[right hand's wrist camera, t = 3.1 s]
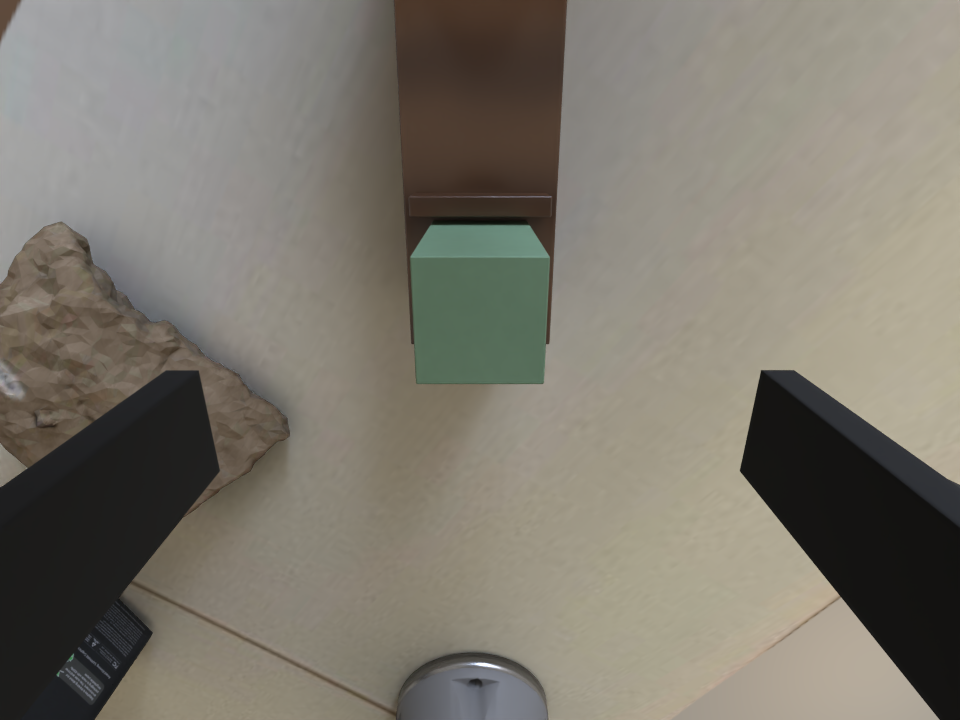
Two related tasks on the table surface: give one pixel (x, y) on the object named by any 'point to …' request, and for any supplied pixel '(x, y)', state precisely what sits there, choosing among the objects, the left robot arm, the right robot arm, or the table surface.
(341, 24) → the table surface
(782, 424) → the right robot arm
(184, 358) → the stone
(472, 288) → the block
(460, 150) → the slotted wooden block
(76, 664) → the graphics card box
